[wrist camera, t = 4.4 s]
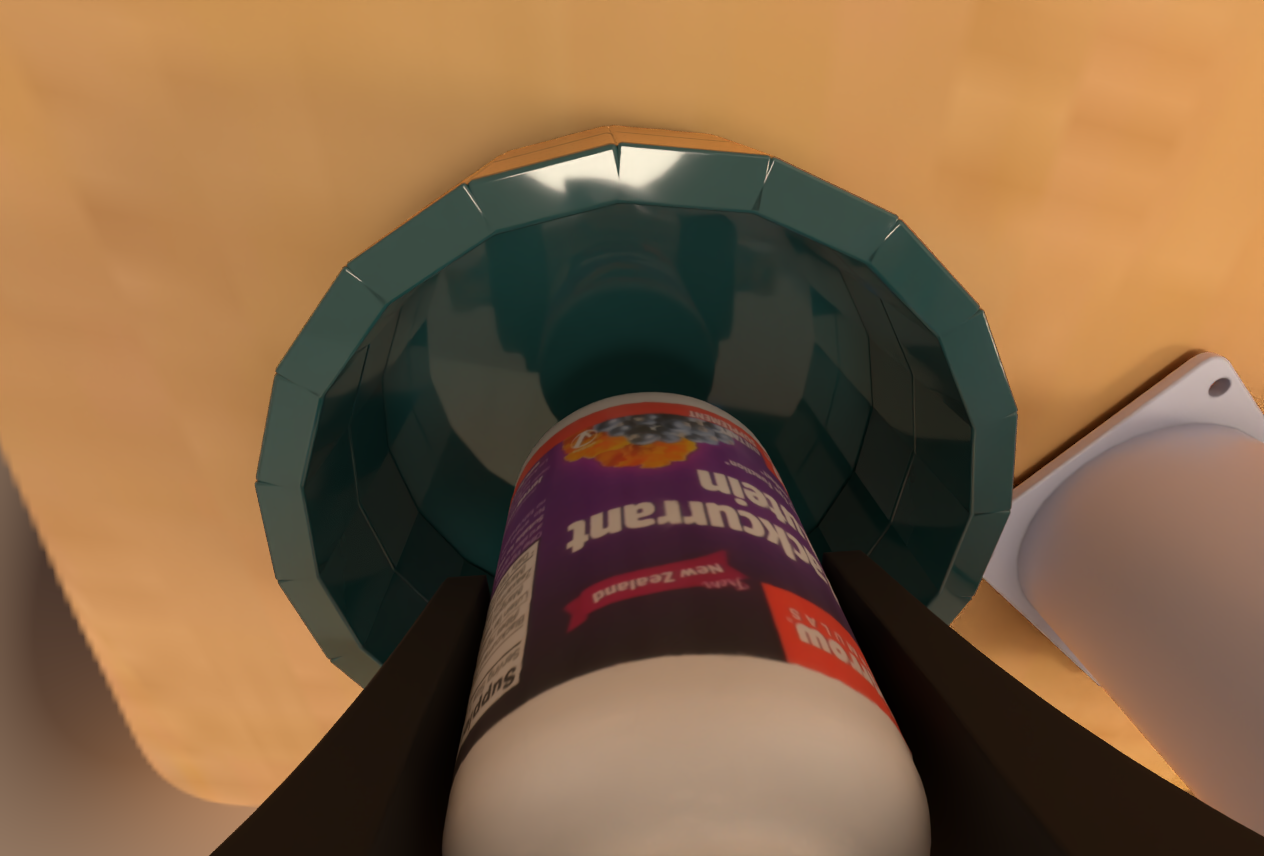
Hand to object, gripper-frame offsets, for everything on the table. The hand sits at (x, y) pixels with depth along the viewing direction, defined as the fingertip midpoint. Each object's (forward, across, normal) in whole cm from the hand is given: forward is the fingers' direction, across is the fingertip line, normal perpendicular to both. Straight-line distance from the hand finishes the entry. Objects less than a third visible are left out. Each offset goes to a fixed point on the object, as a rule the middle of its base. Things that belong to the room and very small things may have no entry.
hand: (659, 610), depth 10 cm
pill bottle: (+3, 0, 0) cm, 3 cm away
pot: (+7, 0, 0) cm, 7 cm away
